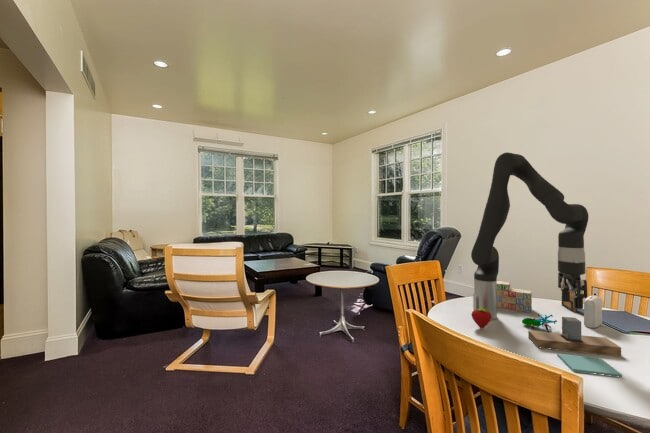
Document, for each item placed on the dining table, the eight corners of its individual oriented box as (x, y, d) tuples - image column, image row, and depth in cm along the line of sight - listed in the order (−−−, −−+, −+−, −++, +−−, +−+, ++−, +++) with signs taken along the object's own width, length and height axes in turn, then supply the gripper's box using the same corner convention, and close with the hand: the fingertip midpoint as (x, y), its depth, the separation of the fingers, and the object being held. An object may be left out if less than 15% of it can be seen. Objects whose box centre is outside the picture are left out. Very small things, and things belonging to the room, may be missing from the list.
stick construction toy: (557, 322, 120) (553, 310, 118) (562, 337, 115) (558, 325, 112) (523, 325, 127) (519, 314, 124) (527, 339, 121) (522, 328, 118)
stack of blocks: (532, 309, 144) (531, 284, 144) (531, 312, 139) (530, 287, 139) (483, 301, 157) (483, 279, 157) (481, 304, 153) (481, 281, 152)
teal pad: (572, 371, 88) (572, 368, 88) (557, 355, 97) (557, 353, 97) (622, 377, 84) (622, 374, 84) (600, 360, 94) (600, 358, 94)
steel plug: (567, 348, 102) (567, 320, 102) (562, 343, 106) (562, 316, 106) (581, 350, 101) (581, 321, 101) (575, 345, 105) (575, 317, 105)
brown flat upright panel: (561, 305, 149) (561, 282, 149) (565, 305, 149) (565, 282, 149) (572, 312, 139) (572, 287, 139) (577, 312, 138) (577, 287, 138)
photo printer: (590, 320, 128) (590, 293, 128) (603, 323, 124) (603, 295, 124) (582, 326, 122) (582, 297, 122) (595, 329, 118) (595, 299, 118)
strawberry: (469, 324, 125) (469, 301, 125) (489, 326, 123) (489, 303, 123) (473, 330, 119) (473, 306, 119) (493, 331, 117) (493, 307, 117)
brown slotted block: (537, 347, 103) (537, 339, 103) (528, 338, 111) (528, 330, 111) (621, 356, 96) (621, 347, 96) (605, 345, 104) (605, 337, 104)
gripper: (549, 256, 111) (550, 298, 111) (569, 262, 98) (569, 310, 98) (573, 257, 109) (573, 300, 109) (596, 263, 96) (597, 312, 96)
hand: (572, 305), depth 104 cm, fingers open, 8 cm apart
